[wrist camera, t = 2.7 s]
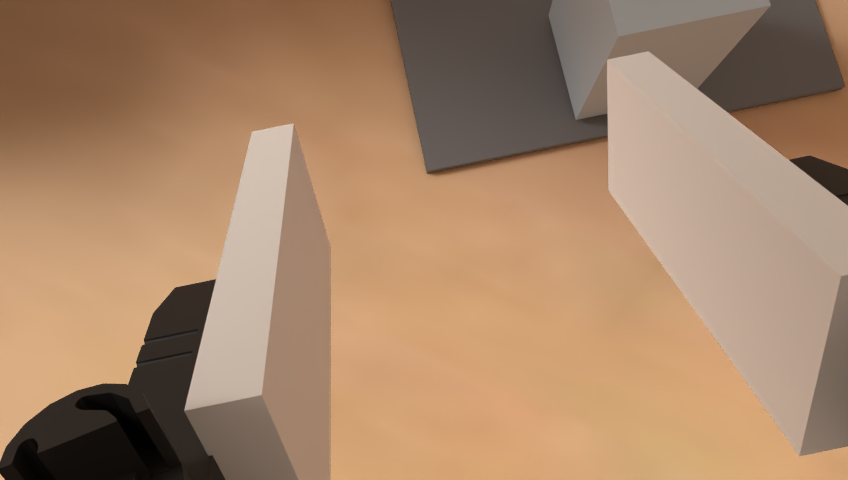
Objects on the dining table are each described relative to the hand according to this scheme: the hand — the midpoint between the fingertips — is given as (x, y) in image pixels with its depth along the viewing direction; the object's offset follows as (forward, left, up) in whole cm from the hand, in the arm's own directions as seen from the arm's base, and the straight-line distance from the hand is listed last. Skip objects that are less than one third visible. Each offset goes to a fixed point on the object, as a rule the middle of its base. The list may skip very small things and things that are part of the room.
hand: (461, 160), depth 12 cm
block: (+11, +10, -21) cm, 26 cm away
